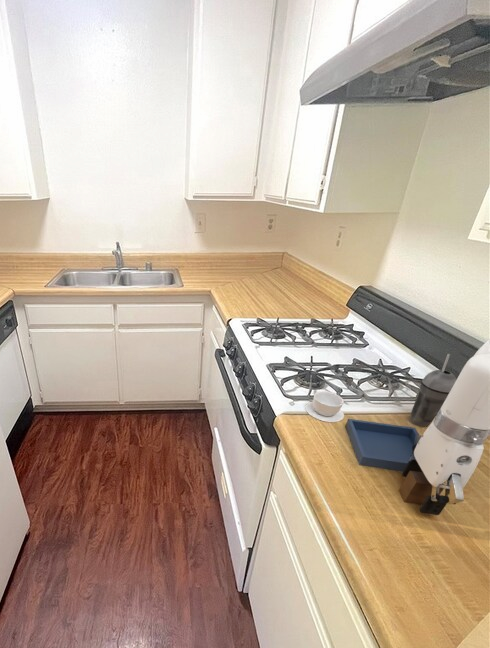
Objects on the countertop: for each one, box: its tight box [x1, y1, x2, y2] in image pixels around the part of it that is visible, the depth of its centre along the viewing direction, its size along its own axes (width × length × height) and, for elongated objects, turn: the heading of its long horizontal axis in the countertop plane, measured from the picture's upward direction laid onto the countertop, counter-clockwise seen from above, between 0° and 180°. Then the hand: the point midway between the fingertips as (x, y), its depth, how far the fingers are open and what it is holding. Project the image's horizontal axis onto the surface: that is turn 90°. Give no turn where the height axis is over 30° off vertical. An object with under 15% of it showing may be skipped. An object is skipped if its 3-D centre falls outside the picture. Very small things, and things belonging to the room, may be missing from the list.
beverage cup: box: [408, 353, 457, 428], centre depth 86 cm, size 7×7×20 cm
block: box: [398, 471, 445, 506], centre depth 68 cm, size 5×3×6 cm, turn 78°
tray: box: [344, 418, 420, 473], centre depth 81 cm, size 16×15×3 cm
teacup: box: [304, 390, 345, 423], centre depth 93 cm, size 10×10×5 cm
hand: (418, 493), depth 69 cm, fingers open, 9 cm apart
